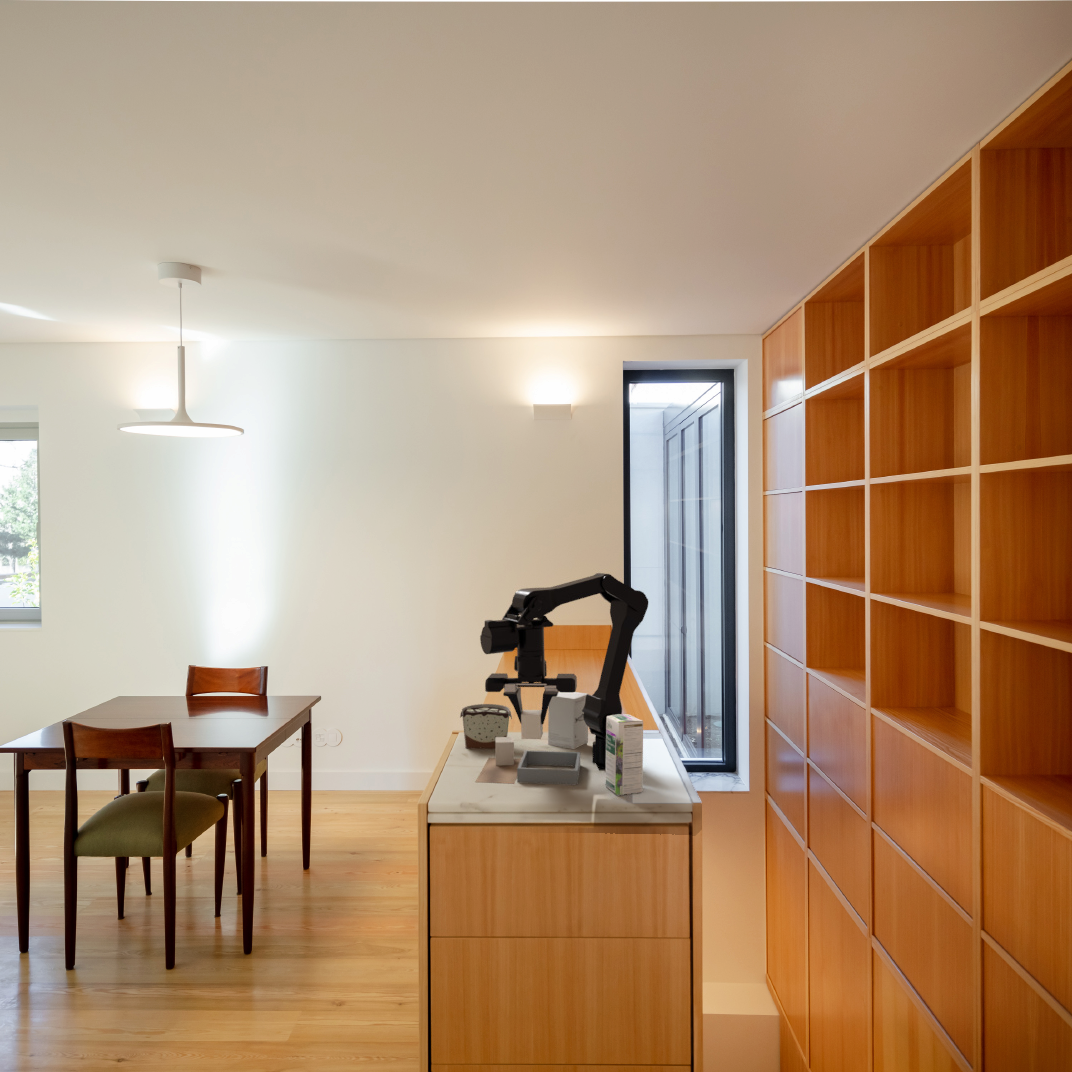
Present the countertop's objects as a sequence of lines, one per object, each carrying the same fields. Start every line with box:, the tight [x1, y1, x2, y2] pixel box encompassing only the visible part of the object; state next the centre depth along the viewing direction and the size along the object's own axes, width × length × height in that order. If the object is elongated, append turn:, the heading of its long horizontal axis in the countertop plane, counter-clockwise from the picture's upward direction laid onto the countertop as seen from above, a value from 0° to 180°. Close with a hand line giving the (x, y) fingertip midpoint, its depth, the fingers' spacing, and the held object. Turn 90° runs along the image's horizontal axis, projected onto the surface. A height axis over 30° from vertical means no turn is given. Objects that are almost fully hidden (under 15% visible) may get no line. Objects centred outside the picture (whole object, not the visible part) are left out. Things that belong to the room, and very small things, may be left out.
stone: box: [520, 709, 544, 740], centre depth 149 cm, size 4×4×5 cm
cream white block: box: [494, 736, 515, 765], centre depth 157 cm, size 4×4×5 cm
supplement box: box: [547, 691, 589, 750], centre depth 172 cm, size 7×7×13 cm
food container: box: [459, 703, 513, 750], centre depth 170 cm, size 12×6×10 cm, turn 84°
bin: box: [516, 749, 581, 786], centre depth 150 cm, size 12×12×4 cm
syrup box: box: [604, 713, 644, 796], centre depth 143 cm, size 6×6×14 cm
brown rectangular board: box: [474, 757, 521, 785], centre depth 152 cm, size 8×16×1 cm, turn 174°
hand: (532, 723), depth 149 cm, fingers closed on stone, 4 cm apart
